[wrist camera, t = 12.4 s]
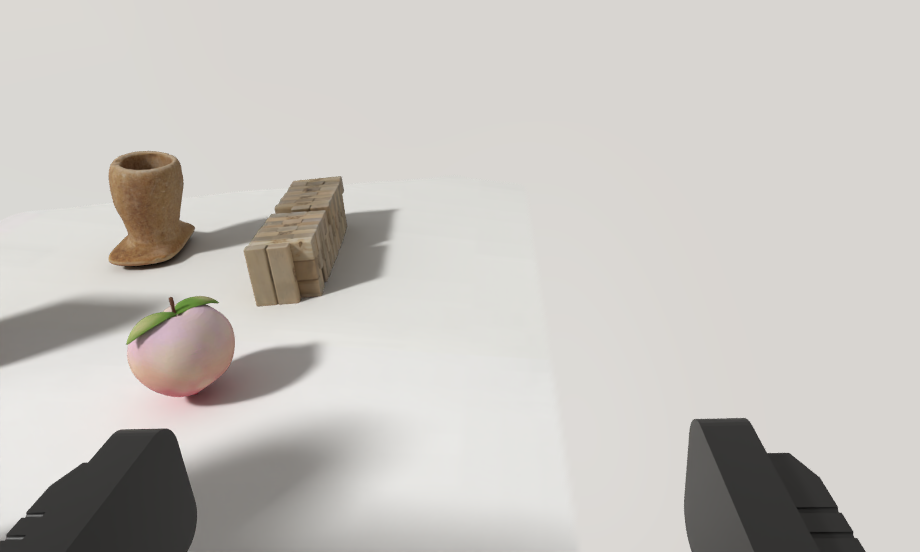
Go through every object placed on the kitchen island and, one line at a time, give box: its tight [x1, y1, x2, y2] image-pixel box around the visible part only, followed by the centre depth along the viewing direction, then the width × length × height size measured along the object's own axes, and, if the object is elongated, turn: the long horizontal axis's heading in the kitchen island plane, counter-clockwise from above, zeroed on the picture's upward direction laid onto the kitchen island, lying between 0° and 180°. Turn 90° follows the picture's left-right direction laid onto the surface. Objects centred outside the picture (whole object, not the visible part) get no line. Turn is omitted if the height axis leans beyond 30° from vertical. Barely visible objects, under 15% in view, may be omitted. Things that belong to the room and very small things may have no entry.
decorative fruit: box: [126, 296, 235, 397], centre depth 62 cm, size 9×8×10 cm
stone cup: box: [109, 151, 195, 266], centre depth 99 cm, size 15×12×15 cm
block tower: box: [244, 176, 347, 306], centre depth 93 cm, size 8×8×29 cm
